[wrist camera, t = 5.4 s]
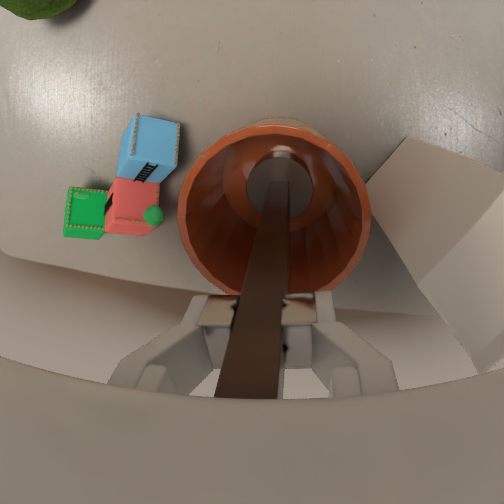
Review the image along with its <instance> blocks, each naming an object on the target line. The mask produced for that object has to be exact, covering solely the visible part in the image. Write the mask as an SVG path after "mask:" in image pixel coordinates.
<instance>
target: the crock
mask: <svg viewBox="0 0 504 504" xmlns="http://www.w3.org/2000/svg"><path fill="white" fill-rule="evenodd" d="M276 151H285V152H290V153H292V154H295V155H296V156H298V157H299V158H301V159H302V160H303V161H304V162H305V164H306V165H307V167H308V169H309V171H310V175H311V178H312V182H313V197H312V201H311V203H310V205H309V206H308V208H307V209H306V210H305V211H304V212H303V213H302V214H301V215H299V216H298V217H296V218H294V219H291V220H290V234H289V277H288V294H289V293H304V292H314V293H315V291H326V290H330V291H331V290H333V289H334V288H335V287H336V286H338V285H339V284H340V283H341V282H342V281H343V280H344V279H345V278H346V277H347V276H349V275H350V273H351V272H352V271H353V269H354V268H355V266H356V265H357V263H358V262H359V260H360V259H361V257H362V255H363V253H364V251H365V247H366V244H367V241H368V238H369V235H370V230H371V205H370V201H369V197H368V193H367V190H366V186H365V183H364V181H363V179H362V178H361V176H360V174H359V173H358V171H357V169H356V168H355V166H354V165H353V163H352V161H351V160H350V159H349V158H348V157H347V156H346V155H345V154H344V153H342V152H341V151H340V150H339V149H338V148H337V147H336V146H335V145H334V144H332V143H331V142H330V141H329V140H328V139H327V138H326V137H324V136H323V135H322V134H321V133H320V132H319V131H317V130H316V129H315V128H314V127H312V126H310V125H308V124H306V123H303V122H301V121H298V120H295V119H290V118H283V117H277V118H266V119H262V120H259V121H256V122H254V123H251V124H249V125H246V126H244V127H242V128H240V129H238V130H236V131H234V132H232V133H230V134H228V135H226V136H224V137H222V138H221V139H219V140H218V141H217V142H215V143H214V144H213V145H211V146H210V147H209V148H208V149H206V150H205V151H204V152H203V153H202V154H201V155H200V156H199V157H198V159H197V160H196V162H195V163H194V164H193V166H192V167H191V169H190V170H189V171H188V173H187V175H186V177H185V180H184V183H183V186H182V189H181V192H180V194H179V199H178V218H177V220H178V226H179V230H180V235H181V239H182V243H183V245H184V247H185V249H186V251H187V253H188V255H189V257H190V259H191V261H192V263H193V264H194V265H195V267H196V268H197V269H198V270H199V271H200V272H201V273H202V275H203V276H204V277H205V278H206V279H207V280H208V281H209V282H211V283H212V284H213V285H215V286H216V287H218V288H219V289H220V290H222V291H223V292H225V293H227V294H228V295H240V294H241V290H242V286H243V283H244V279H245V275H246V271H247V267H248V263H249V259H250V256H251V252H252V248H253V244H254V240H255V236H256V233H257V229H258V225H259V221H260V217H261V215H260V214H259V213H257V212H256V211H255V210H254V208H253V207H252V206H251V204H250V202H249V200H248V197H247V193H246V184H247V180H248V177H249V175H250V173H251V171H252V169H253V168H254V166H255V164H256V163H257V162H258V160H259V159H261V158H262V157H263V156H265V155H266V154H269V153H271V152H276Z"/></svg>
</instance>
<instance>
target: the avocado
mask: <svg viewBox="0 0 504 504" xmlns="http://www.w3.org/2000/svg"><path fill="white" fill-rule="evenodd" d="M76 2H77V0H0V6H1V7H3V8H5V9H7V10H9V11H11V12H12V13H14V14H15V15H17V16H19V17H22V18H25V19H28V20H37V19H45V18H50V17H53V16H55V15H58V14H60V13H62V12H64V11H66V10H67V9H68V8H70V7H71V6H72V5H73V4H75V3H76Z"/></svg>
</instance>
